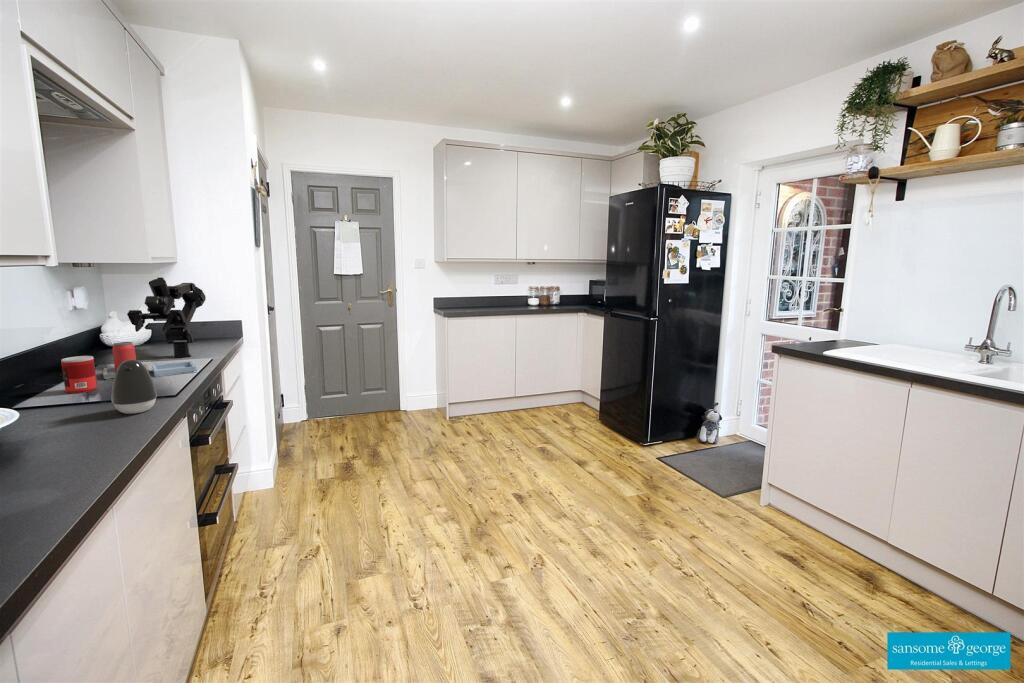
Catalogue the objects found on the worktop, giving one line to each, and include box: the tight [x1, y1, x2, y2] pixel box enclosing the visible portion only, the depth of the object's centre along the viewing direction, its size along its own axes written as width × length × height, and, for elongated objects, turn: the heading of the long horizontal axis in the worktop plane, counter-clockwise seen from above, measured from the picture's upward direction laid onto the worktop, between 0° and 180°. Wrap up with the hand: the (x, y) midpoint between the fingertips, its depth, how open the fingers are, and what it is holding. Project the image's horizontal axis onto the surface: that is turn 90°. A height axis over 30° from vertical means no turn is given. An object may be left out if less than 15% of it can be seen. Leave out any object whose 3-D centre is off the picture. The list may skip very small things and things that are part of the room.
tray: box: [151, 361, 198, 378], centre depth 185 cm, size 13×13×2 cm
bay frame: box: [102, 363, 150, 380], centre depth 180 cm, size 13×13×2 cm
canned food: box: [60, 355, 98, 394], centre depth 157 cm, size 8×8×11 cm
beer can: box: [111, 341, 137, 373], centre depth 179 cm, size 7×7×12 cm
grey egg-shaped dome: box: [111, 359, 158, 415], centre depth 136 cm, size 10×10×15 cm
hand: (149, 330), depth 187 cm, fingers open, 9 cm apart
